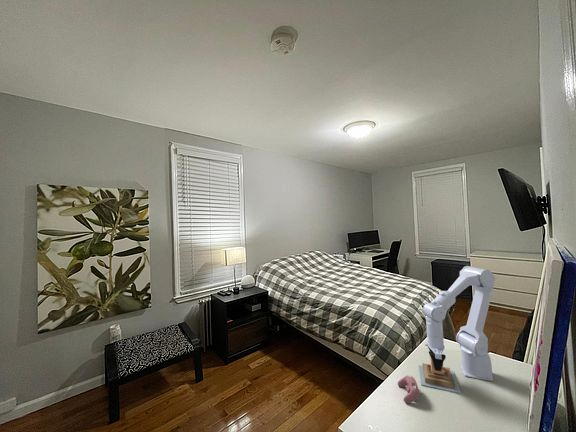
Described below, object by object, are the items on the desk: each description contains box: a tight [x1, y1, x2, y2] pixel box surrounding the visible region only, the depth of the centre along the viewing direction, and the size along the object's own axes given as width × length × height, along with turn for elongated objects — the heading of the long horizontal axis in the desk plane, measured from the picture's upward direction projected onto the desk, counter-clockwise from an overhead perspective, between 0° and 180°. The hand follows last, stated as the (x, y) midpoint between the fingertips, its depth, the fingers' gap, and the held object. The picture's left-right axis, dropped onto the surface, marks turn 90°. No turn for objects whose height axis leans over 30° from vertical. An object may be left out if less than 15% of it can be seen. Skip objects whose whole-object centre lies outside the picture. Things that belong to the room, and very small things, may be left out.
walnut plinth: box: [421, 362, 455, 389], centre depth 97 cm, size 10×10×3 cm
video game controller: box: [397, 374, 421, 404], centre depth 89 cm, size 10×5×7 cm, turn 169°
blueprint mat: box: [418, 364, 462, 395], centre depth 97 cm, size 13×13×1 cm
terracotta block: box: [429, 356, 444, 375], centre depth 97 cm, size 4×4×6 cm
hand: (437, 366), depth 97 cm, fingers closed on terracotta block, 4 cm apart
